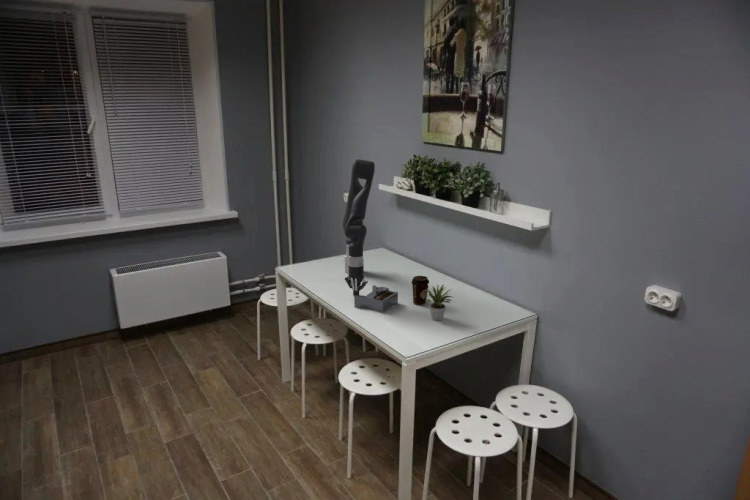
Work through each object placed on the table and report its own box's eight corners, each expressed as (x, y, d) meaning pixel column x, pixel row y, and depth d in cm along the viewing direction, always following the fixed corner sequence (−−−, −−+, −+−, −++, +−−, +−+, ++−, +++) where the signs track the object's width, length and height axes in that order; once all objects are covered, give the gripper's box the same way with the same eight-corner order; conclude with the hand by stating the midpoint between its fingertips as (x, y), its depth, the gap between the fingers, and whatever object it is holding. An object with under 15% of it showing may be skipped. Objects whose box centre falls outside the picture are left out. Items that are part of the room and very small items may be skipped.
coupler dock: (353, 306, 238) (353, 289, 236) (373, 295, 252) (373, 279, 249) (380, 314, 230) (380, 296, 227) (399, 301, 244) (400, 285, 241)
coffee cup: (430, 301, 245) (431, 276, 241) (426, 307, 237) (427, 281, 234) (413, 298, 248) (414, 274, 244) (409, 305, 240) (409, 279, 236)
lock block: (365, 305, 240) (365, 297, 239) (375, 299, 247) (375, 291, 246) (379, 309, 236) (379, 301, 235) (388, 303, 243) (389, 295, 242)
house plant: (429, 328, 215) (430, 293, 211) (414, 316, 228) (415, 282, 223) (457, 322, 221) (459, 288, 216) (441, 311, 233) (442, 278, 228)
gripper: (340, 263, 243) (341, 296, 248) (362, 268, 236) (362, 302, 241) (349, 259, 249) (349, 291, 254) (371, 264, 242) (371, 297, 247)
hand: (356, 296), depth 247 cm, fingers closed
